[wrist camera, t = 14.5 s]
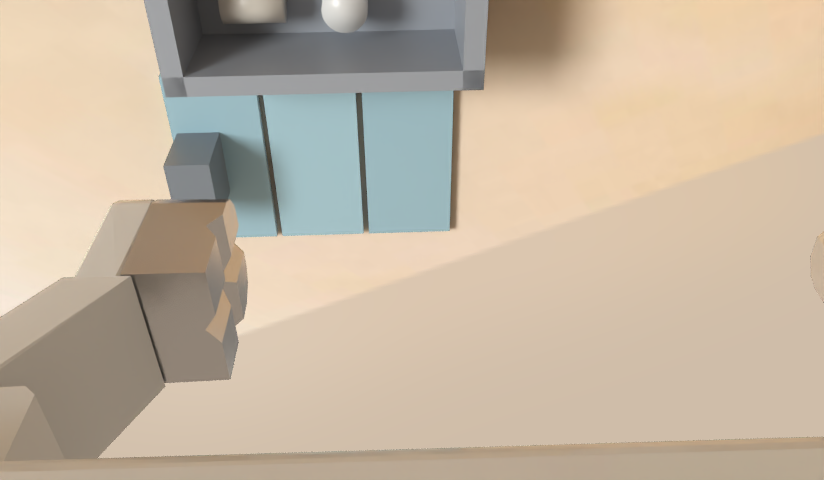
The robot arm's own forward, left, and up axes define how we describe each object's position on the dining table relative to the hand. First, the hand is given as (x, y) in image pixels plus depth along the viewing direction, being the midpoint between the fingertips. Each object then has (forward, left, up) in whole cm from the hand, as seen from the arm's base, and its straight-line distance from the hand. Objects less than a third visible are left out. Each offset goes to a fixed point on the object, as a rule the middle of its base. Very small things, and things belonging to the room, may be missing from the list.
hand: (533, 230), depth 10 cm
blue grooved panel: (+6, +17, -31) cm, 36 cm away
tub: (+5, +5, -31) cm, 31 cm away
